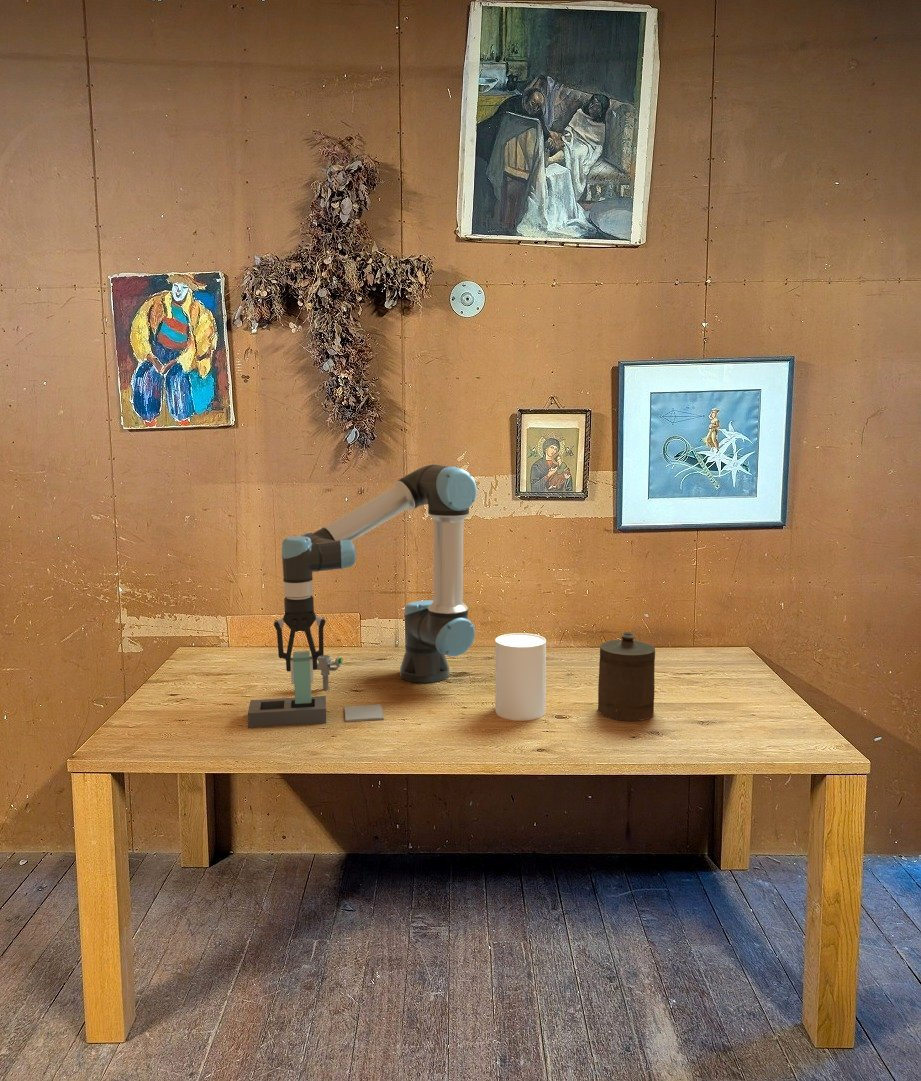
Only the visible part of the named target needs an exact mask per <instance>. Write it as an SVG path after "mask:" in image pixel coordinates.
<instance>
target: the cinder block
mask: <svg viewBox="0 0 921 1081" xmlns="http://www.w3.org/2000/svg"><path fill="white" fill-rule="evenodd" d="M326 697H327V696H326V695H318V696H317V695H316V696H314V695H313V696H311V703H301V704H295V697H283V698H280V697H279V698H267V699H266V698H265V699H264V698H263V699H250V701H249V706H248V710H247V726H248V727H247V729H253V728H256V729H257V728H270V727H271V728H272V727H273V728H274V727H285V726H287V727H288V726H304V725H305V726H306V725H322V724H327V701H326V700H327V698H326Z"/></svg>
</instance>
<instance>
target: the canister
mask: <svg viewBox="0 0 921 1081" xmlns="http://www.w3.org/2000/svg"><path fill="white" fill-rule="evenodd" d="M494 644H495V645H494V646H495V650H494V651H495V652H494V653H495V655H494V657H495V659H494V660H495V664H494V665H495V666H494V668H495V670H494V674H495V679H494V681H495V682H494V683H495V687H494V689H495V691H494V692H495V697H494V698H495V703H494V704H495V705H494V707H495V708H494V710H495V714H496V715H497V716H498V717H501V718H502V719H506V720H511V721H521V722H522V721H532V720H537V719H539V718H542V717H543V716H544V715H545V714H546V696H547V694H546V693H547V692H546V688H547V687H546V684H547V680H546V678H547V670H546V669H547V640H546V638H545V637H544V636H541V635H538V634H535V633H527V632H524V633H523V632H518V633H517V632H514V633H506V634H502V635H499V636H497V637H495V643H494Z"/></svg>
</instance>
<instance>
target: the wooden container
mask: <svg viewBox="0 0 921 1081" xmlns="http://www.w3.org/2000/svg"><path fill="white" fill-rule="evenodd" d="M620 637H621V639H612V640H606V641H604V642H602V643H601V644H600V646H599V662H598V663H599V665H598V666H599V667H598V668H599V669H598V685H597V686H598V687H597V695H598V696H597V698H598V699H597V703H598V705H597V709H598V710H597V711H598V713H600V714H601V716H604V717H605V718H608V719H612V720H615V721H622V722H637V721H644V720H648V719H650V718H651V717H653V715H654V712H655V691H656V690H655V688H656V686H655V670H656V668H655V667H656V666H655V664H656V663H655V659H656V648H655V646H654V645H652V644H650V643H648V642H645V641H641V640H635V638H636V637H635V635H634V633H632V632H630V631H626V632H624V633H622V634H621V636H620Z"/></svg>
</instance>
